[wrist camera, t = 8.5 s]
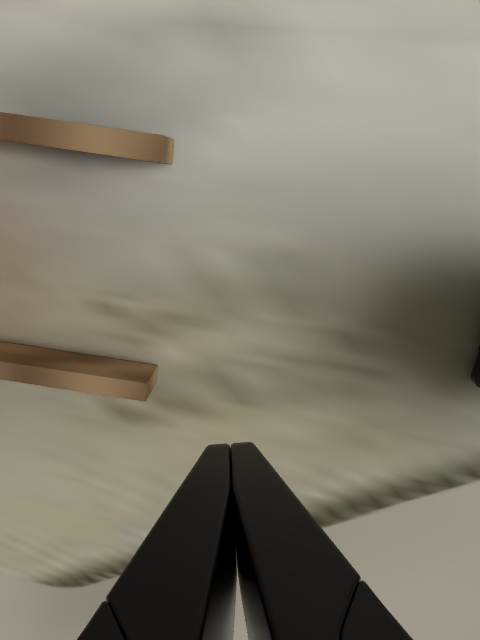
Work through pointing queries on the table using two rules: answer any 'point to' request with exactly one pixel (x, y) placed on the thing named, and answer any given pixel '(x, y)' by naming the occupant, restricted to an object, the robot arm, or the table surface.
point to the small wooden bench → (70, 366)
